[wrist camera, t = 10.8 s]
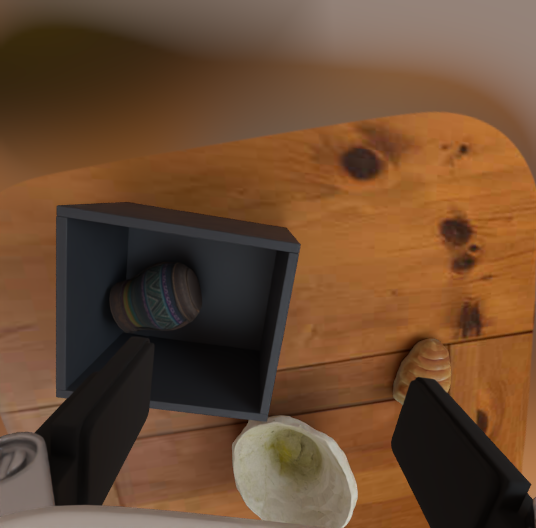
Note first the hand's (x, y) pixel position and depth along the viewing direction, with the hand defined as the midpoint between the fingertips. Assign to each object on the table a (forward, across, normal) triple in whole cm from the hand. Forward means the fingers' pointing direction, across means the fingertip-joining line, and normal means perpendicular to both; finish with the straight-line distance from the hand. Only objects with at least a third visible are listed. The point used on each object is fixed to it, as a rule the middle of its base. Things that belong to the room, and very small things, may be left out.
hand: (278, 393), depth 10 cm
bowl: (+25, -6, +25) cm, 36 cm away
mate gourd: (+21, +7, +4) cm, 22 cm away
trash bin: (+25, +8, +5) cm, 27 cm away
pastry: (+26, -22, +13) cm, 36 cm away
